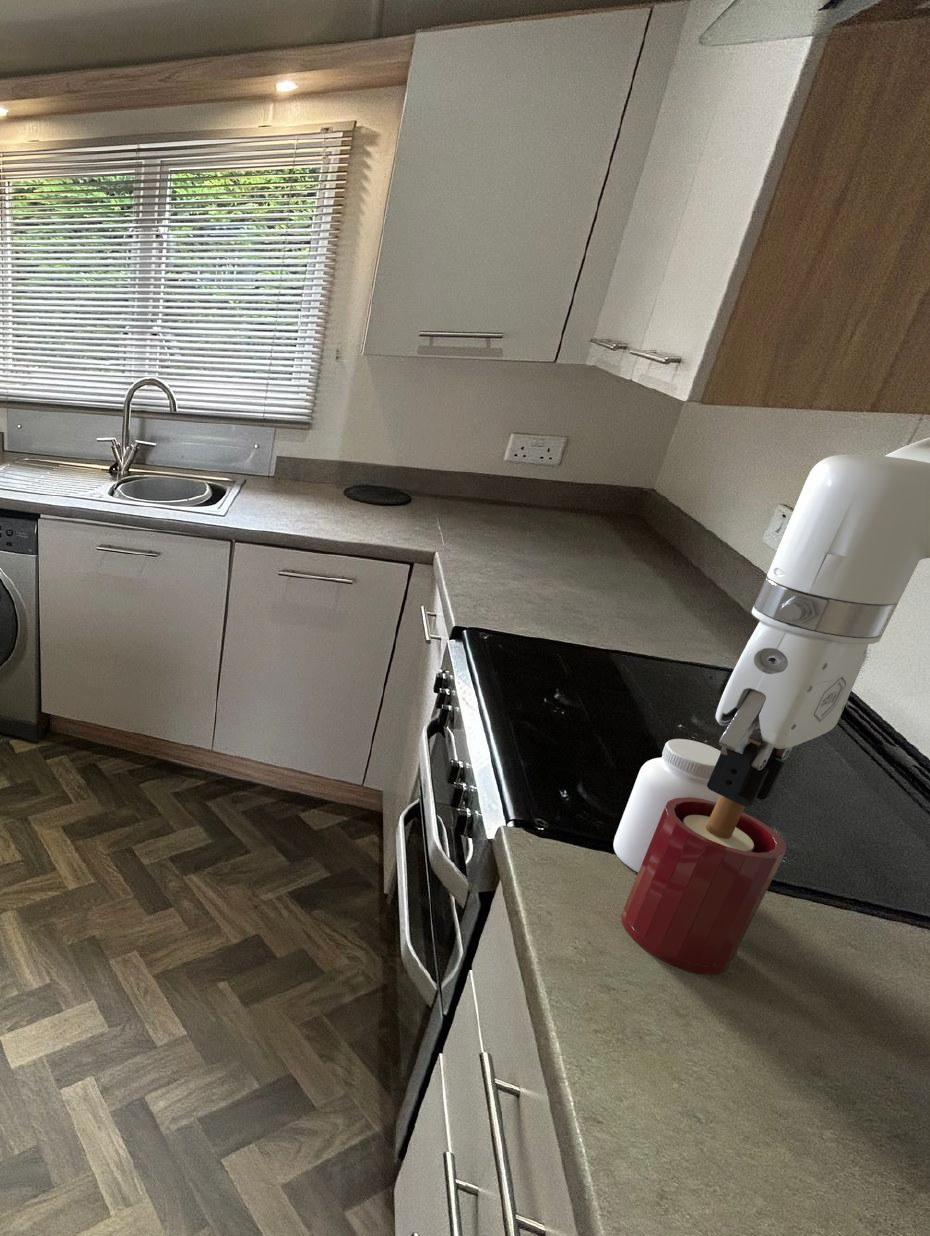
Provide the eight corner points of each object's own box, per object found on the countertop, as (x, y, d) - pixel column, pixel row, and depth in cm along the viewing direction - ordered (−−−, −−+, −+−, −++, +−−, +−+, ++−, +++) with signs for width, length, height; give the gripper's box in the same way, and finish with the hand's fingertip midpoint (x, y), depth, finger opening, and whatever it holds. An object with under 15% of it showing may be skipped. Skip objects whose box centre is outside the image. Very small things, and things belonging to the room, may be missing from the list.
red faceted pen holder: (650, 896, 76) (695, 788, 71) (747, 956, 69) (805, 842, 64) (602, 920, 73) (646, 809, 68) (699, 986, 66) (756, 868, 61)
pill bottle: (594, 846, 84) (634, 737, 78) (642, 832, 86) (685, 726, 80) (666, 895, 76) (716, 780, 71) (717, 879, 79) (769, 766, 73)
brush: (676, 865, 72) (739, 721, 66) (737, 900, 68) (810, 750, 62) (647, 879, 70) (709, 732, 64) (708, 916, 66) (780, 763, 60)
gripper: (834, 642, 52) (739, 843, 59) (929, 612, 58) (833, 797, 65) (711, 605, 58) (638, 790, 65) (808, 581, 64) (732, 752, 71)
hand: (736, 792), depth 65 cm, fingers closed on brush
